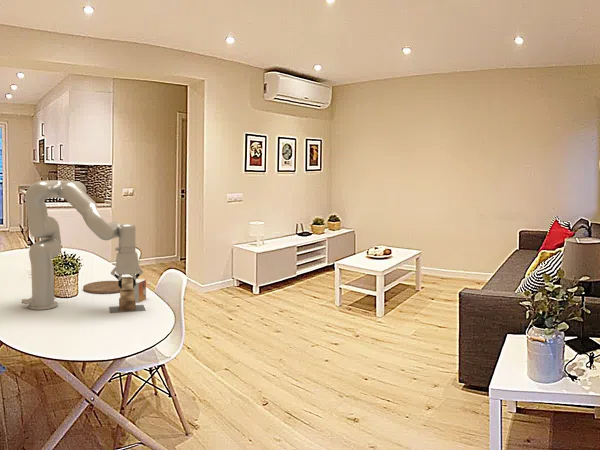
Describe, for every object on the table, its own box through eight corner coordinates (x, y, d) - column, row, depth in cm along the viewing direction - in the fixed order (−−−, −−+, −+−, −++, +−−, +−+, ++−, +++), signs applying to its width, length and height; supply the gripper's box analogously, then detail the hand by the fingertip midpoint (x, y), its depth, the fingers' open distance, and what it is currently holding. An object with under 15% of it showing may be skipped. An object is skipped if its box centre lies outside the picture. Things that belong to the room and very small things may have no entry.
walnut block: (120, 311, 247) (120, 301, 247) (119, 307, 254) (119, 298, 253) (135, 310, 250) (135, 300, 250) (134, 306, 256) (134, 297, 256)
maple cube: (121, 289, 247) (121, 279, 247) (121, 287, 252) (121, 277, 251) (133, 289, 249) (133, 278, 249) (132, 286, 254) (132, 276, 253)
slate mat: (110, 313, 244) (110, 313, 244) (108, 307, 254) (108, 306, 254) (145, 311, 250) (145, 310, 250) (143, 305, 260) (143, 304, 260)
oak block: (121, 301, 248) (121, 292, 247) (120, 298, 253) (120, 289, 253) (134, 300, 250) (134, 291, 249) (133, 297, 255) (133, 288, 255)
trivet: (140, 286, 298) (140, 283, 298) (111, 297, 275) (111, 293, 275) (104, 282, 307) (104, 278, 306) (72, 291, 283) (72, 288, 283)
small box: (138, 303, 264) (138, 282, 262) (128, 302, 265) (128, 281, 263) (146, 299, 271) (146, 279, 270) (136, 298, 272) (136, 278, 271)
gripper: (108, 251, 242) (108, 290, 244) (146, 250, 248) (146, 288, 251) (107, 249, 249) (107, 286, 251) (145, 248, 255) (144, 285, 257)
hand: (127, 287), depth 251 cm, fingers closed on maple cube, 5 cm apart
